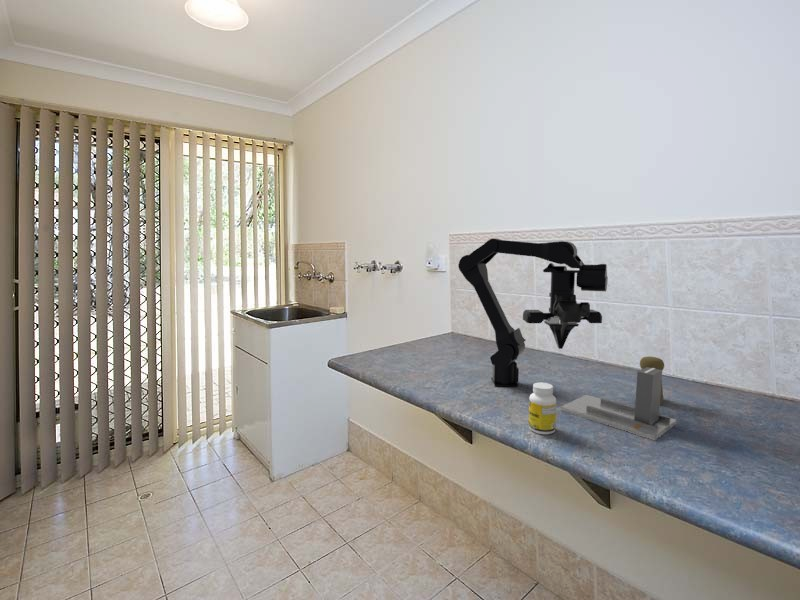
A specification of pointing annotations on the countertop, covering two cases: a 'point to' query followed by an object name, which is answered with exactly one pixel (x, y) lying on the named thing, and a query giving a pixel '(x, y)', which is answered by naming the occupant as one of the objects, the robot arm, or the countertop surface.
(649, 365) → the cork
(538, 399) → the supplement bottle
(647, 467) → the countertop surface
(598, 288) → the robot arm
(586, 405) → the plate
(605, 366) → the countertop surface
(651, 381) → the fader tab
